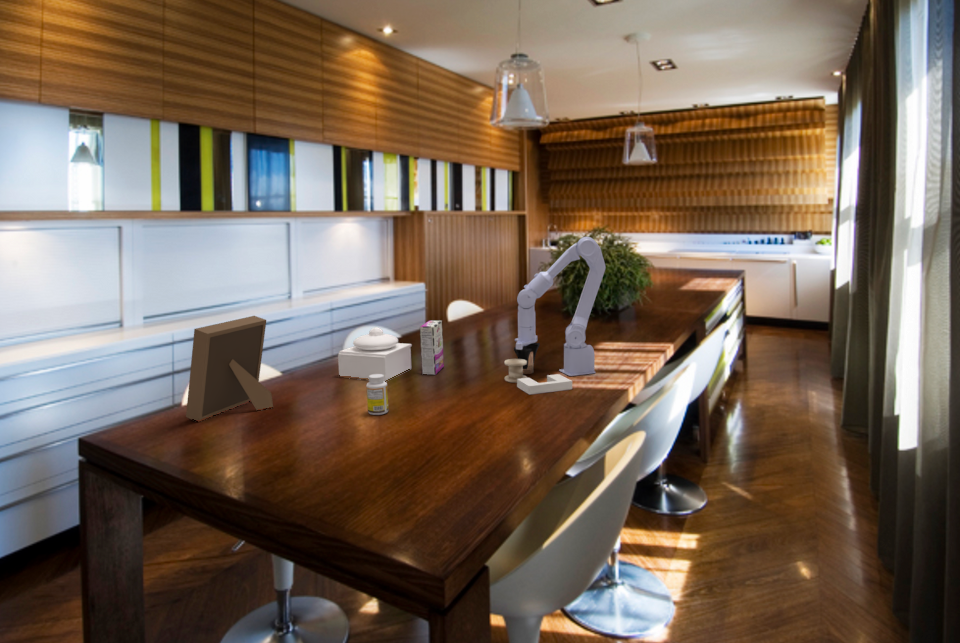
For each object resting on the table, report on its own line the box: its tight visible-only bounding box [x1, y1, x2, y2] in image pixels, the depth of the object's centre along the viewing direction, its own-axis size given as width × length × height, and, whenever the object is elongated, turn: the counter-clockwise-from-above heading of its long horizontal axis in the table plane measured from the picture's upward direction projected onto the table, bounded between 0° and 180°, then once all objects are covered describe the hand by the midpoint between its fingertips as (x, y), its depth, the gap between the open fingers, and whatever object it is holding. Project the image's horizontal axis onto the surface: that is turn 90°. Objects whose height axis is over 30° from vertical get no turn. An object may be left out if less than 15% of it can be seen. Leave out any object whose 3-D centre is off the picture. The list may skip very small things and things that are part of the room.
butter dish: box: [337, 326, 413, 382], centre depth 217 cm, size 18×18×16 cm
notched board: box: [516, 373, 573, 395], centre depth 195 cm, size 14×9×2 cm, turn 110°
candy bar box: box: [419, 320, 445, 376], centre depth 217 cm, size 11×5×16 cm, turn 168°
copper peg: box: [523, 351, 534, 375], centre depth 214 cm, size 4×4×7 cm
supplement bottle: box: [365, 374, 390, 416], centre depth 174 cm, size 6×6×10 cm
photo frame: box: [185, 315, 274, 421], centre depth 176 cm, size 15×22×25 cm
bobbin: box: [504, 358, 528, 384], centre depth 205 cm, size 7×7×6 cm
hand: (527, 366), depth 214 cm, fingers open, 5 cm apart
